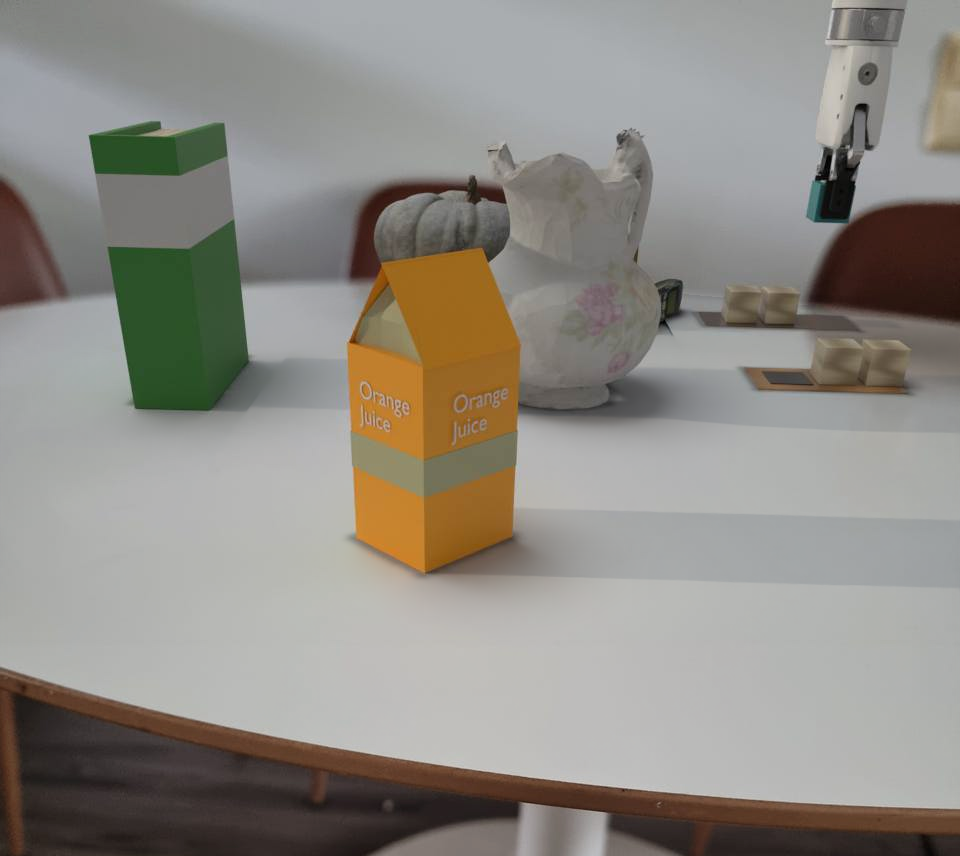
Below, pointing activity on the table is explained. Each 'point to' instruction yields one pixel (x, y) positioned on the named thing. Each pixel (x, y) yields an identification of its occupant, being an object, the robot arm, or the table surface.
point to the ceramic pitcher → (576, 271)
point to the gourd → (442, 225)
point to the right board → (842, 368)
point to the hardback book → (173, 260)
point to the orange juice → (434, 410)
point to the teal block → (816, 201)
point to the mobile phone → (669, 297)
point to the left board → (799, 322)
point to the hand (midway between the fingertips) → (828, 213)
